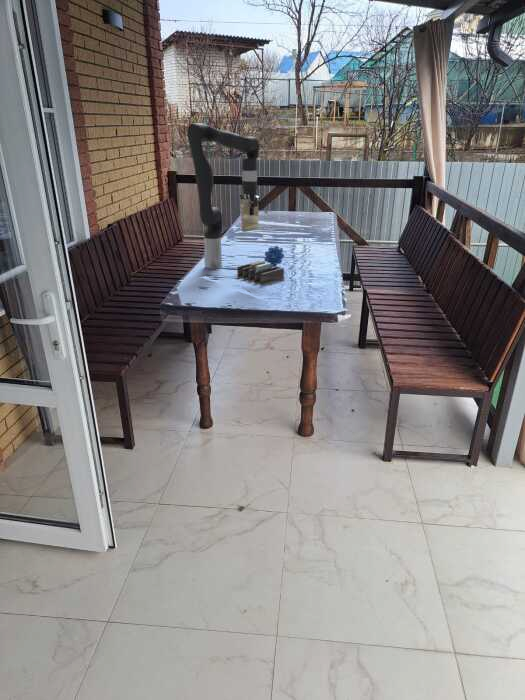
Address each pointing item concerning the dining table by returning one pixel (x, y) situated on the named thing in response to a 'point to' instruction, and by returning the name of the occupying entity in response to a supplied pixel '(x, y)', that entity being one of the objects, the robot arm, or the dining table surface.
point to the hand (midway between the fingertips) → (250, 214)
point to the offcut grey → (263, 266)
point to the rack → (260, 274)
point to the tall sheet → (248, 216)
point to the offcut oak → (253, 265)
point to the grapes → (274, 255)
